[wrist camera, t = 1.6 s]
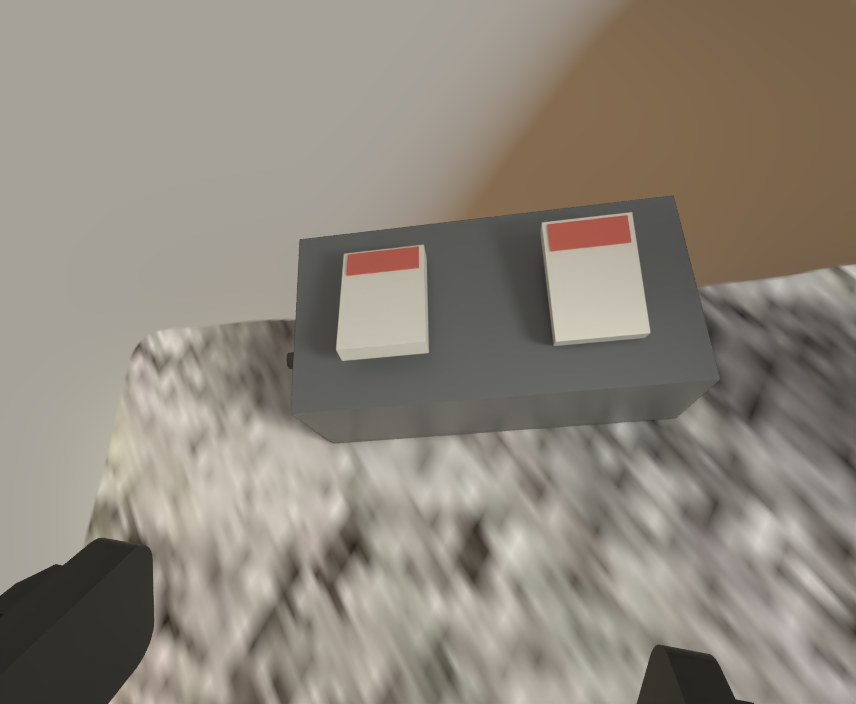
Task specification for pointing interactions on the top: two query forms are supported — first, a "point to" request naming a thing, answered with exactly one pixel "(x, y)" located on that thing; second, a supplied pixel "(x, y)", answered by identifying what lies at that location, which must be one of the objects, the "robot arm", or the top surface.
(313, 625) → the top surface
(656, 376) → the switch box
